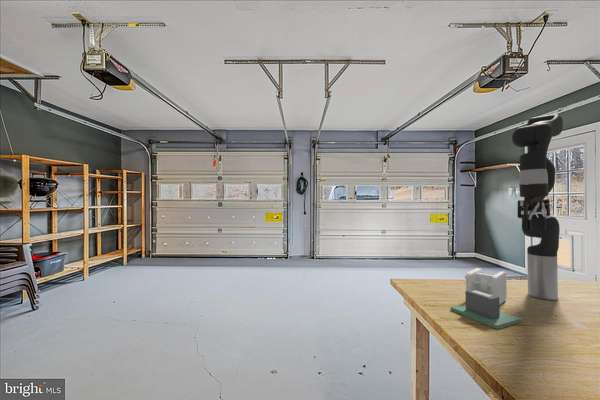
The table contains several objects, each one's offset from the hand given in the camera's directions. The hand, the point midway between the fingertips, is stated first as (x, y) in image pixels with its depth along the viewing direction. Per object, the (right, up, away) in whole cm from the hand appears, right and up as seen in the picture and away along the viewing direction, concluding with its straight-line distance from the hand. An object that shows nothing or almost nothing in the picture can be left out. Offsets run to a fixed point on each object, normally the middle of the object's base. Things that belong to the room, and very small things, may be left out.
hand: (534, 229), depth 93 cm
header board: (-18, -30, 0) cm, 34 cm away
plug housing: (-19, -28, -1) cm, 34 cm away
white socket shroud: (-7, -30, +14) cm, 34 cm away
